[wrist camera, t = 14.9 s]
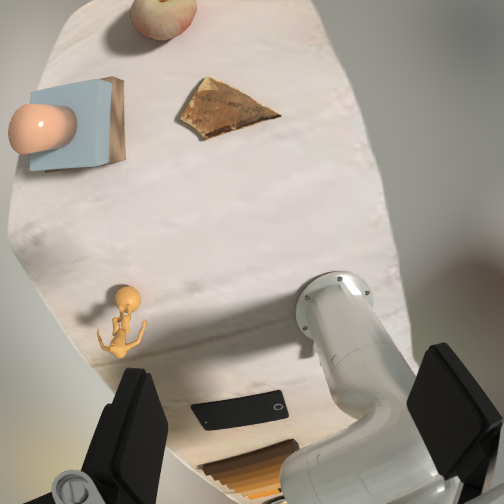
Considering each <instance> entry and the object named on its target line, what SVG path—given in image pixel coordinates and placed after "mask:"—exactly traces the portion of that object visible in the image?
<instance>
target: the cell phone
mask: <svg viewBox="0 0 504 504" xmlns="http://www.w3.org/2000/svg"><path fill="white" fill-rule="evenodd" d="M191 408H192V410H193V412H194V414H195V415H196V417H197V418H198V420H199V421H200V423H201V424H202V426H203V428H204V429H205V430H206V431H210V430H219V429H227V428H234V427H241V426H247V425H253V424H259V423H265V422H270V421H275V420H280V419H285V418H288V417H289V414H288V410H287V407H286V404H285V401H284V398H283V394H282V392H281V390H276V391H271V392H266V393H261V394H256V395H251V396H245V397H240V398H234V399H228V400H222V401H215V402H208V403H201V404H193V405H191Z"/></svg>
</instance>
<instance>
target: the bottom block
mask: <svg viewBox="0 0 504 504" xmlns="http://www.w3.org/2000/svg"><path fill="white" fill-rule="evenodd" d="M100 80H103V81H106V82H110V83H112V94H111V111H110V143H109V163H115V162H119V161H123V160H126V150H125V128H124V81H123V80H120V79H118V78H115V77H107V78H102V79H100ZM106 164H108V163H106ZM65 169H72V168H62V169H50V170H45V173H47V172H53V171H59V170H65Z"/></svg>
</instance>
